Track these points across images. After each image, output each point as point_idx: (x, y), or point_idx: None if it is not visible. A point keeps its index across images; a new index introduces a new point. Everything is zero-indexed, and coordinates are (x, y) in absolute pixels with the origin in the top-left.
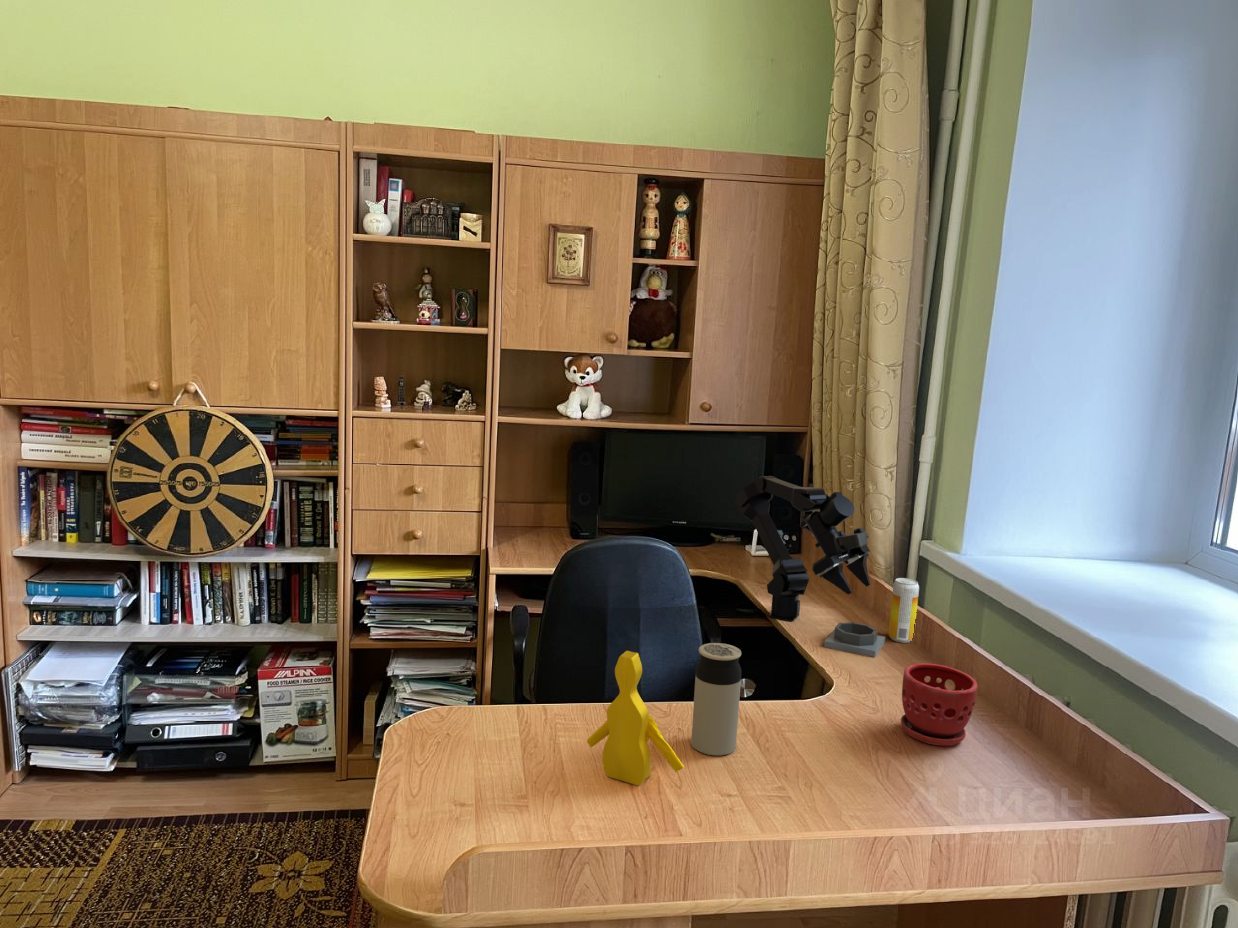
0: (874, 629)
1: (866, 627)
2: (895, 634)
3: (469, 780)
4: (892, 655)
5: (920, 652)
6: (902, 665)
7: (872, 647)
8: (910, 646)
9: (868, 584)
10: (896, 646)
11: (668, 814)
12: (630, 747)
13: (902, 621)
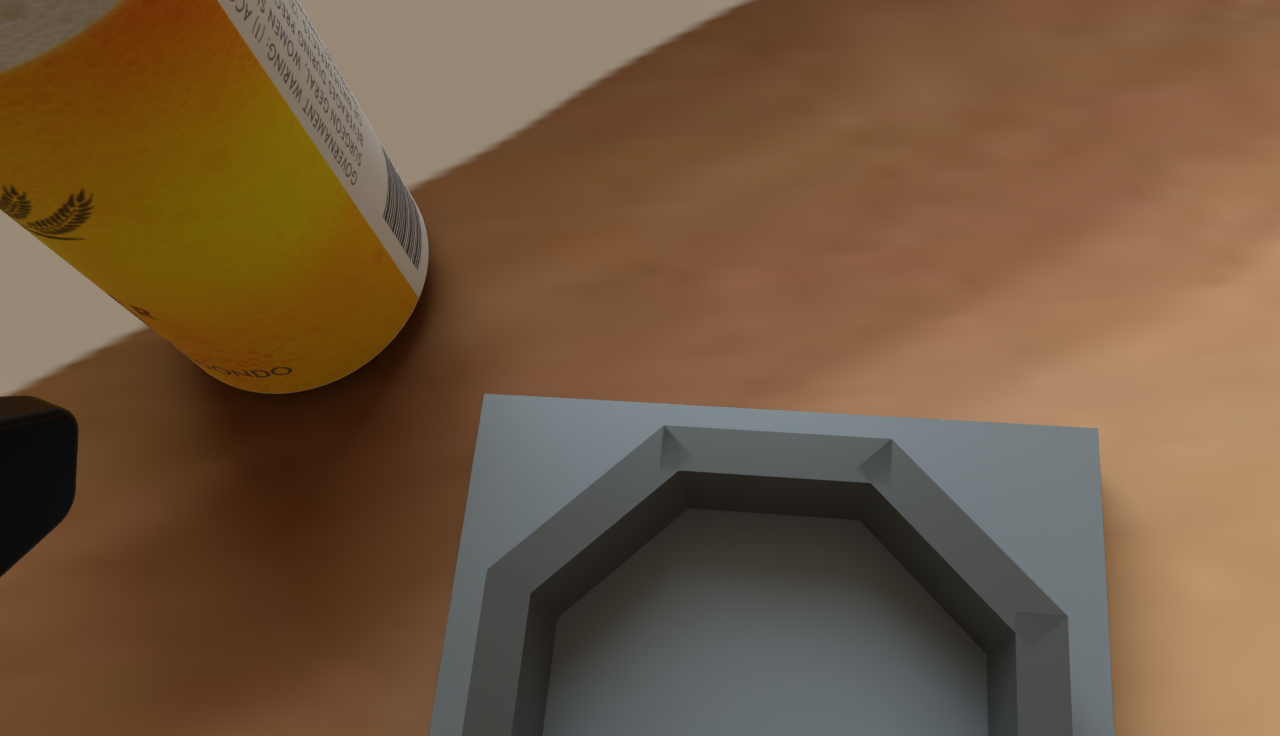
0: (643, 467)
1: (543, 592)
2: (396, 292)
3: None
4: (885, 297)
5: (634, 85)
6: (1135, 179)
7: (974, 479)
8: (500, 180)
9: (56, 444)
10: (568, 296)
11: None
12: None
13: (357, 140)
